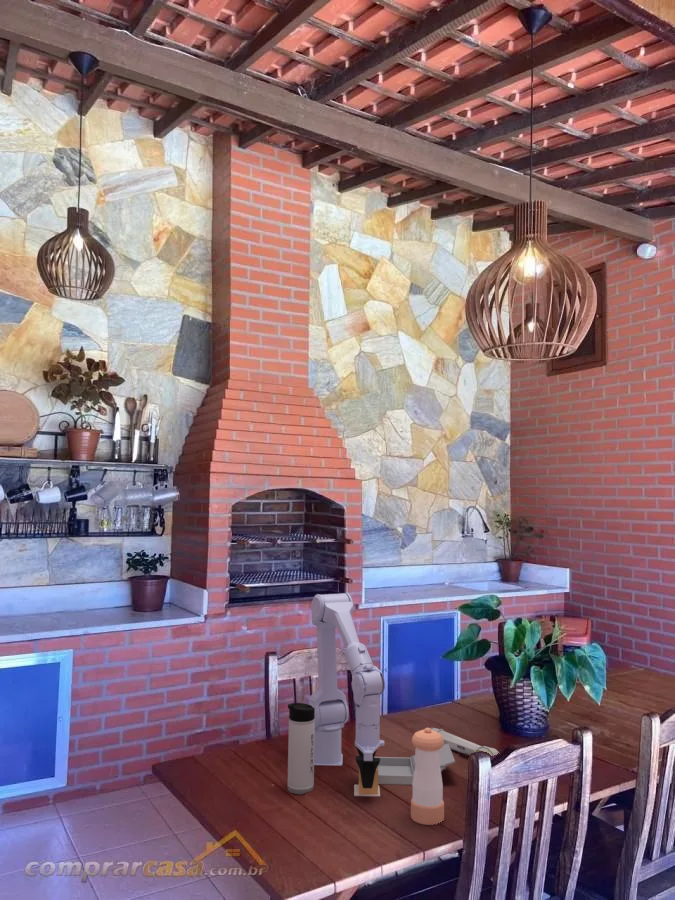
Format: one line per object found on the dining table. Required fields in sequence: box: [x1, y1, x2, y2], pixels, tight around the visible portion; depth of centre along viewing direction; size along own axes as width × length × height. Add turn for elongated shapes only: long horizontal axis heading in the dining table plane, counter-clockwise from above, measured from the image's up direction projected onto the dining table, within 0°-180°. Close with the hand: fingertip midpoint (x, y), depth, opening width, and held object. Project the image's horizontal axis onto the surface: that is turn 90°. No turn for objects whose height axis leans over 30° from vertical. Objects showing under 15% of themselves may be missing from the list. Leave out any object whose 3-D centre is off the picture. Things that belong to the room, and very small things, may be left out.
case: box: [374, 744, 456, 786], centre depth 175 cm, size 20×13×6 cm, turn 89°
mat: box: [353, 784, 381, 797], centre depth 166 cm, size 6×6×1 cm
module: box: [358, 766, 379, 794], centre depth 166 cm, size 4×4×6 cm
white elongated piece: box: [429, 727, 500, 756], centre depth 190 cm, size 5×7×25 cm
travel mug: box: [287, 702, 315, 795], centre depth 168 cm, size 6×7×20 cm
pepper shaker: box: [410, 727, 445, 826], centre depth 154 cm, size 7×7×19 cm
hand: (367, 780), depth 166 cm, fingers open, 7 cm apart
